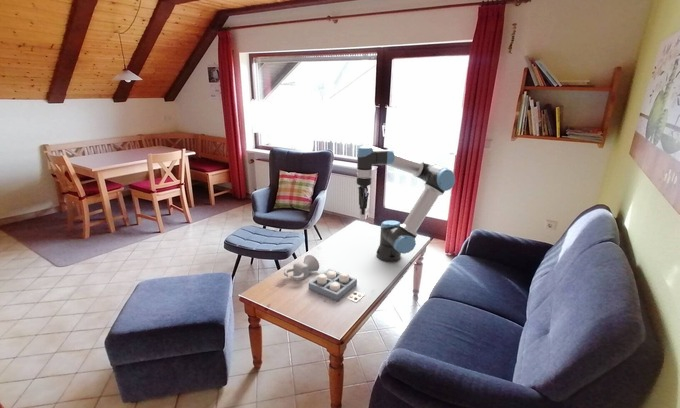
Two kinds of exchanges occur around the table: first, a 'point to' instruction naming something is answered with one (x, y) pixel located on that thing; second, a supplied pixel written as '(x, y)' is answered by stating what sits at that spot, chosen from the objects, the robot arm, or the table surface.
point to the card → (355, 296)
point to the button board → (329, 293)
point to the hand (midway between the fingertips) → (362, 219)
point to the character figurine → (303, 268)
